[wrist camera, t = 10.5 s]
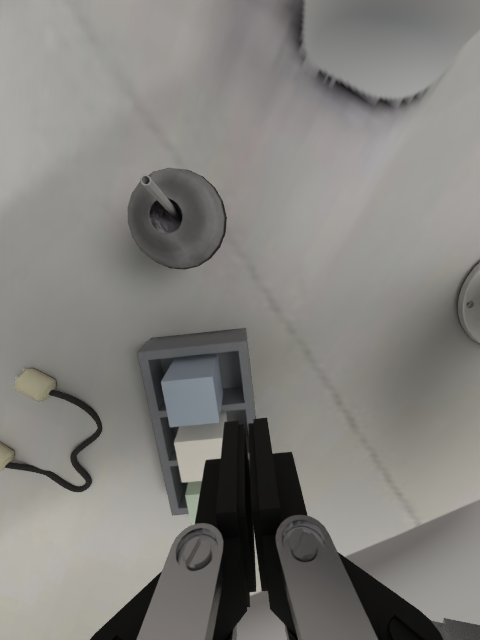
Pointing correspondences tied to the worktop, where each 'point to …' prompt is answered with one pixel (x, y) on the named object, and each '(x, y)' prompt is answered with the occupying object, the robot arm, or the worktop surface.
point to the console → (234, 383)
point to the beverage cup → (177, 218)
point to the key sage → (193, 499)
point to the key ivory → (198, 447)
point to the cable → (39, 390)
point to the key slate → (193, 390)
